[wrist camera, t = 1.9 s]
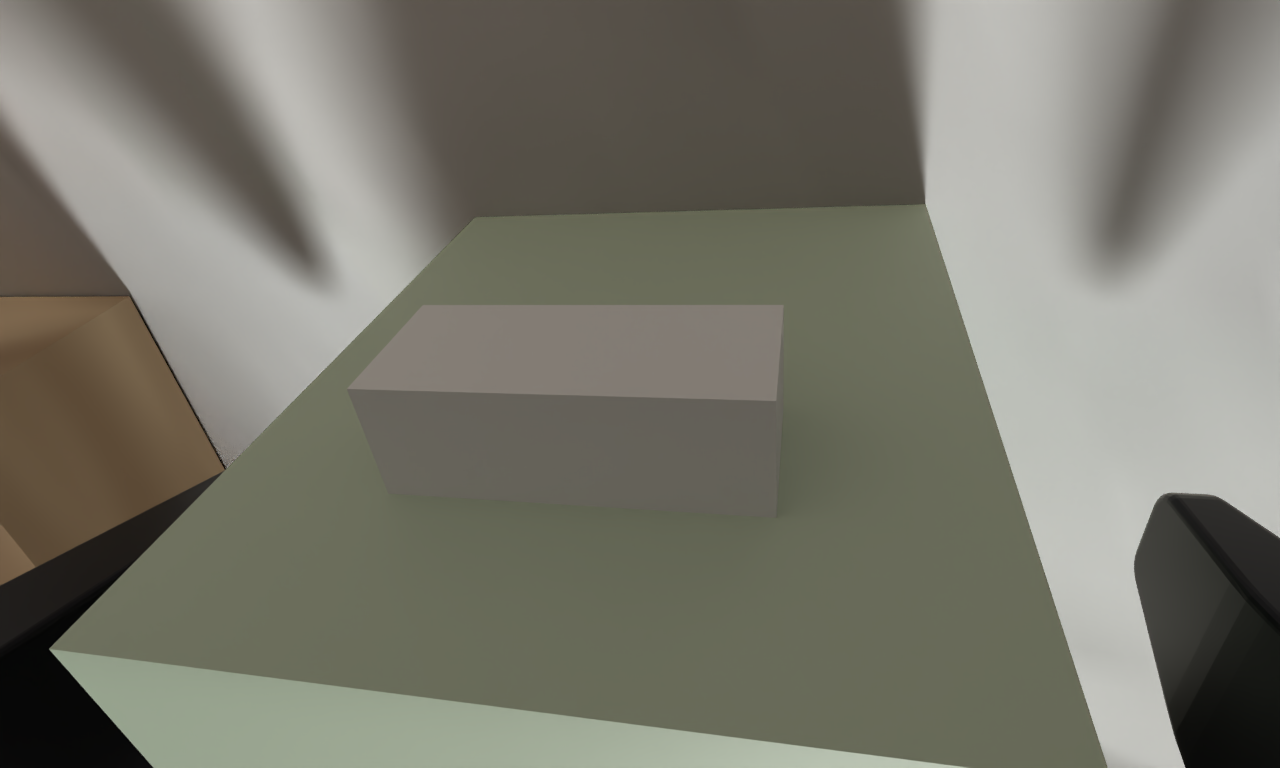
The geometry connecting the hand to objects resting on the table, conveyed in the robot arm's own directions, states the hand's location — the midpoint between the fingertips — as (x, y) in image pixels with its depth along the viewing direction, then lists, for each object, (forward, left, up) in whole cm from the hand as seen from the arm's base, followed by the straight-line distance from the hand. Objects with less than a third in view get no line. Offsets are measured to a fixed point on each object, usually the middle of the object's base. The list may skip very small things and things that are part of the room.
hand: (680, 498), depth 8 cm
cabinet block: (0, 0, -2) cm, 2 cm away
